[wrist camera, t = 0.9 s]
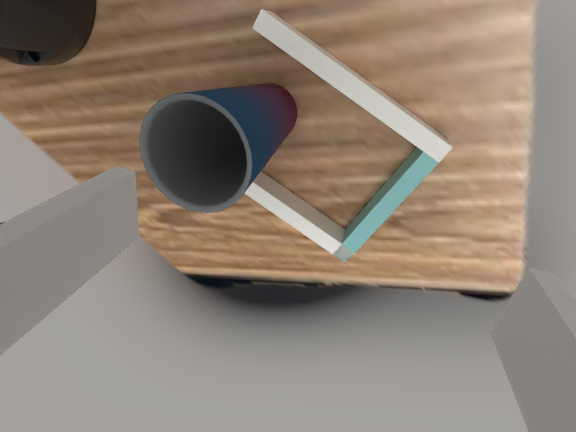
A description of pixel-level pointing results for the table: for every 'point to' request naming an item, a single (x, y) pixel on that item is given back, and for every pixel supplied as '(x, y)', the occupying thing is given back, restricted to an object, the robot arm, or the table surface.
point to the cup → (214, 142)
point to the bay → (379, 105)
